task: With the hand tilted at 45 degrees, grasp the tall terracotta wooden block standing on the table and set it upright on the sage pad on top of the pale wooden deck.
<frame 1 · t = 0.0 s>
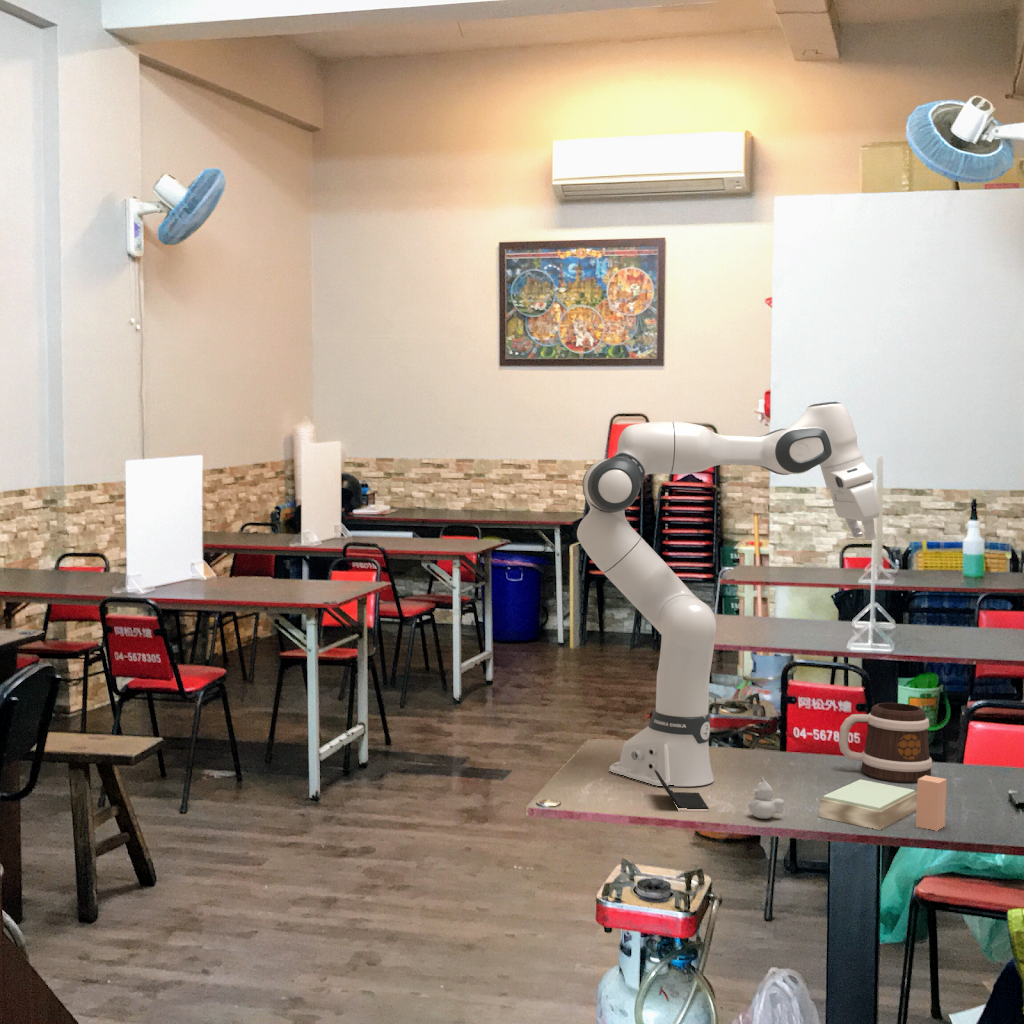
hand: (864, 538, 251), 52 cm above the table, tool tilted 20°, fingers open, 8 cm apart
deck: (868, 813, 231), on the table
mug: (884, 775, 262), on the table
handheld gaming console: (680, 805, 234), on the table
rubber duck: (766, 819, 226), on the table
terracotta block: (930, 826, 223), on the table
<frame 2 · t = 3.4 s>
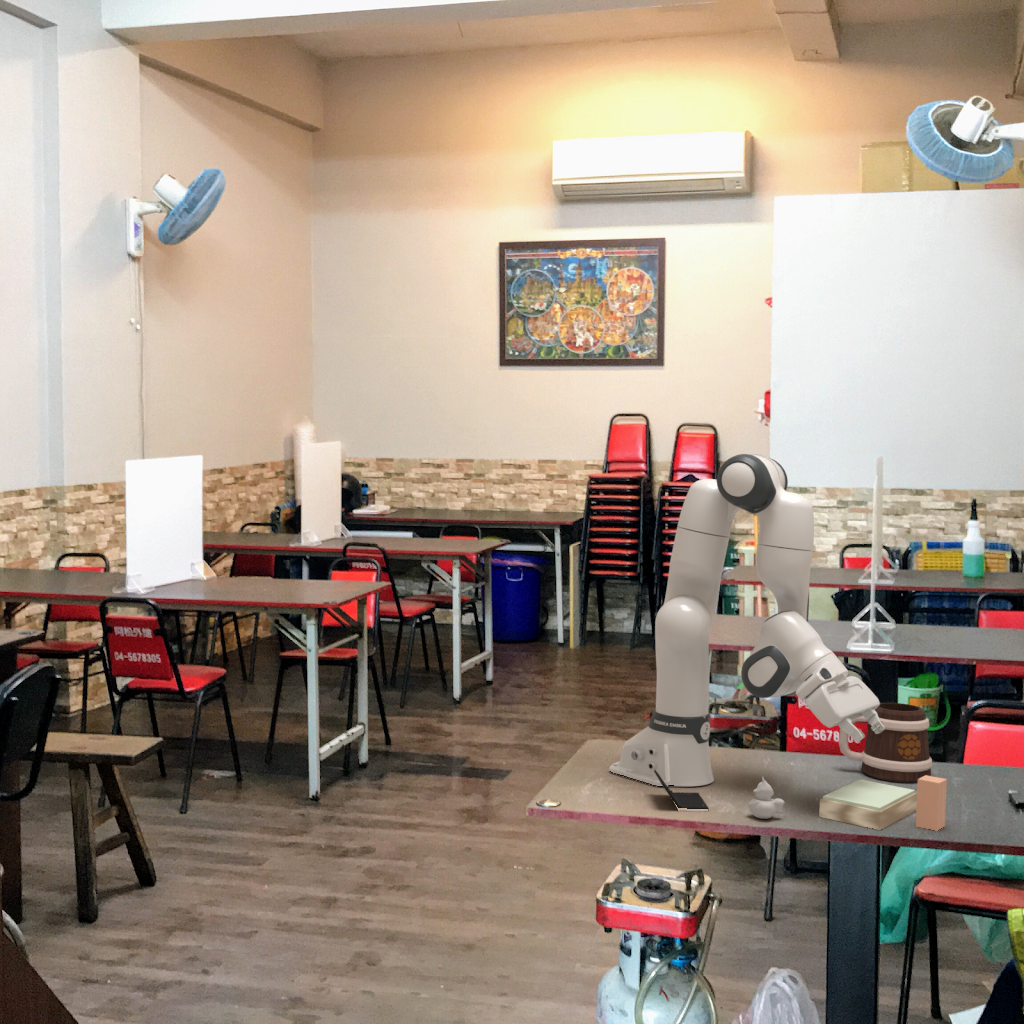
hand: (871, 735, 230), 15 cm above the table, tool tilted 45°, fingers open, 8 cm apart
nothing on the table moved.
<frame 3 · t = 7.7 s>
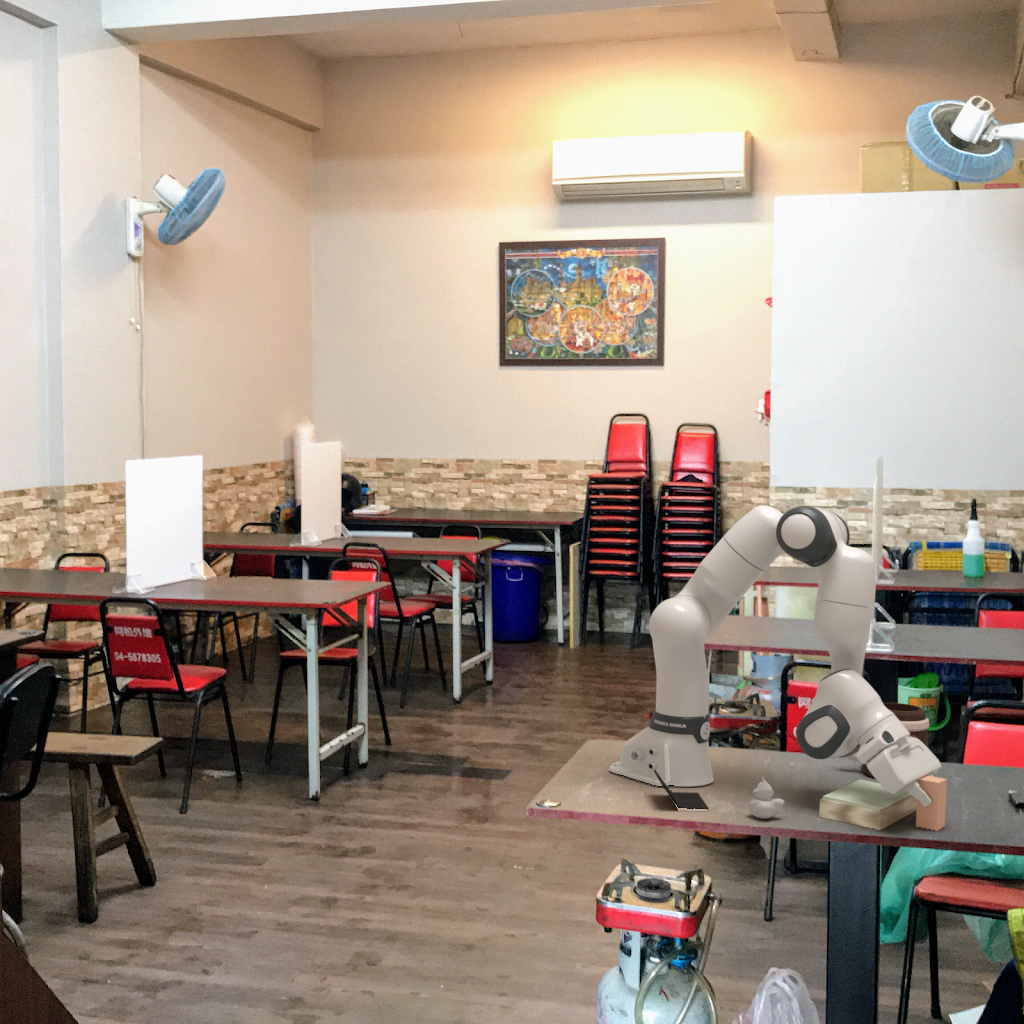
hand: (934, 801, 222), 5 cm above the table, tool tilted 45°, fingers closed on terracotta block, 4 cm apart
terracotta block: (930, 826, 223), on the table, touching gripper
everything else where it was.
when the fingers open (10 cm above the table, at t = 12.9 s): terracotta block drops 1 cm, resting on deck.
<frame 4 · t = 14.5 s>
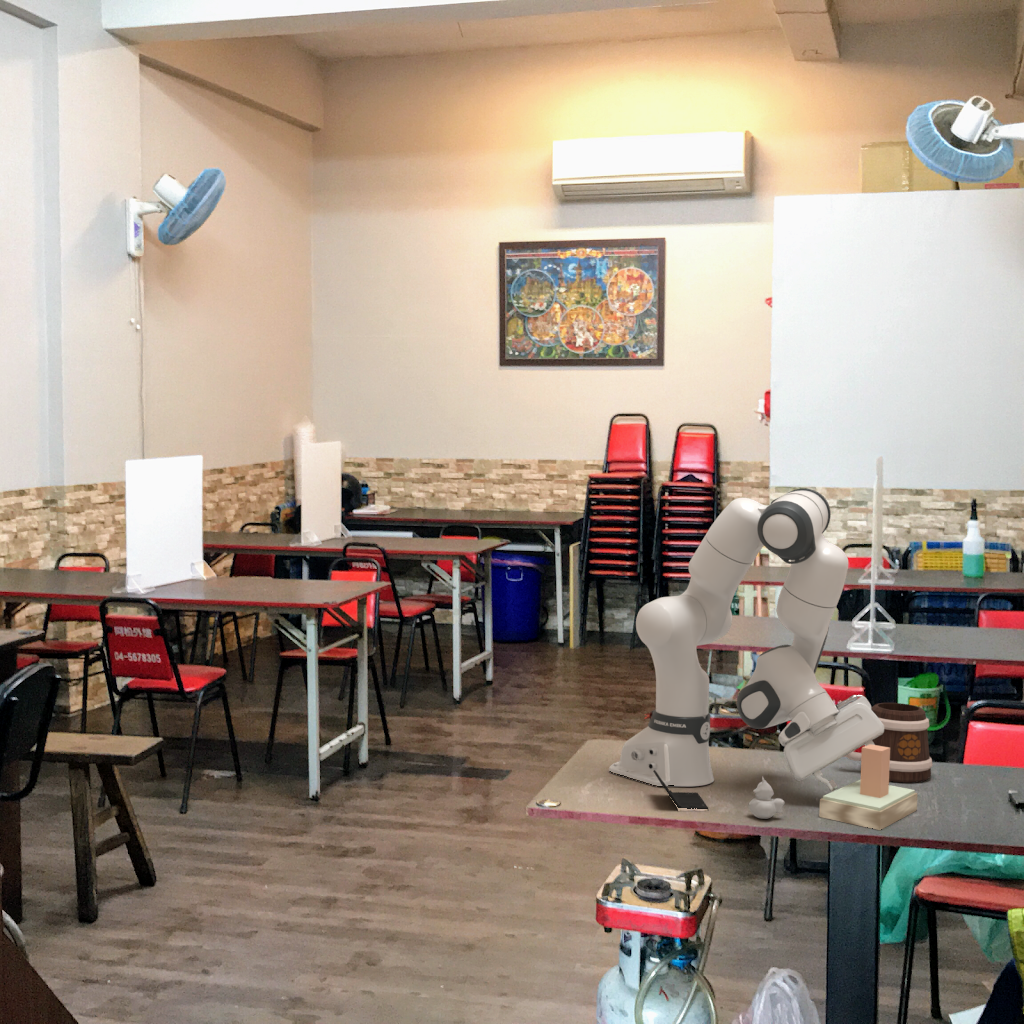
hand: (855, 777, 233), 6 cm above the table, tool tilted 40°, fingers open, 8 cm apart
terracotta block: (874, 794, 230), point 4 cm above the table, touching deck
everything else where it was.
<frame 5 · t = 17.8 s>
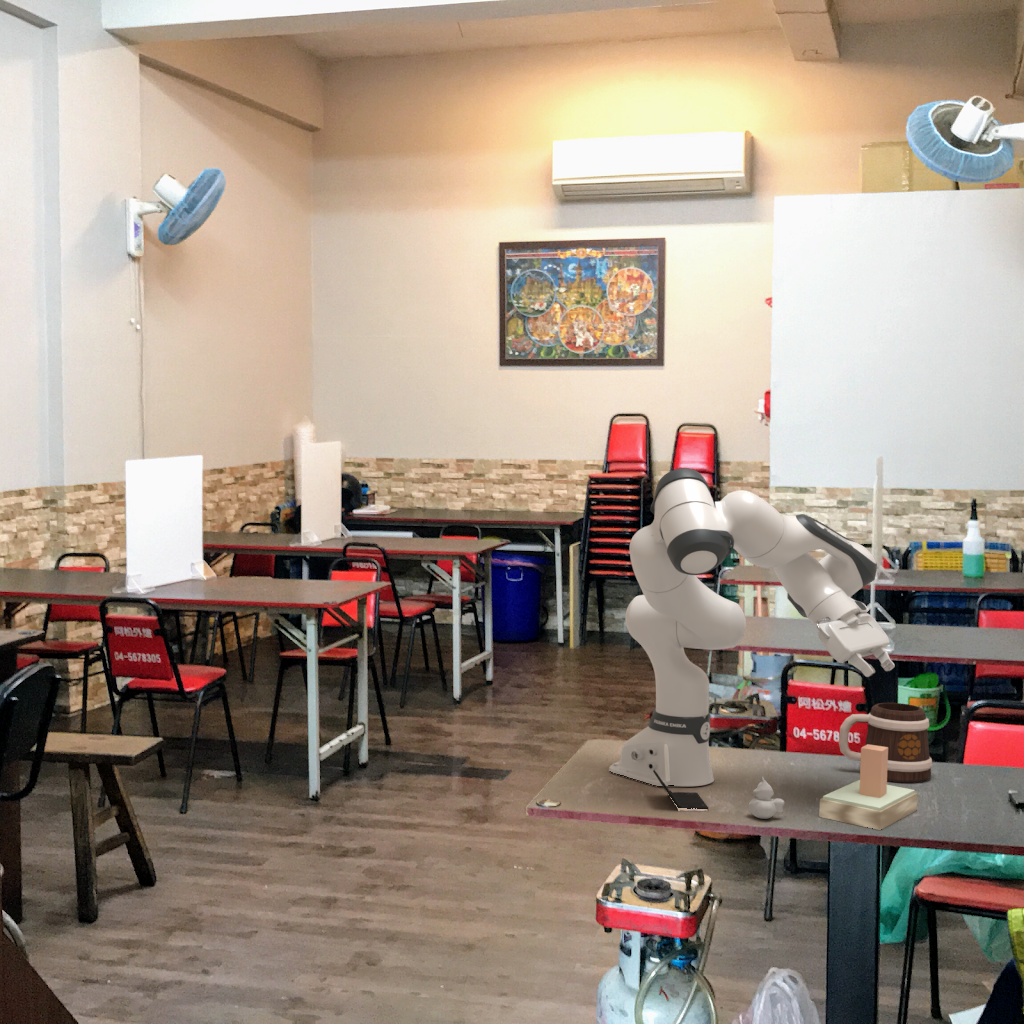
hand: (881, 671, 231), 27 cm above the table, tool tilted 45°, fingers open, 8 cm apart
nothing on the table moved.
at the end: terracotta block inside the target area on the deck (0.8 cm from its centre), point 4.0 cm above the deck's base; terracotta block tilted 0°; the gripper is holding nothing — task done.
